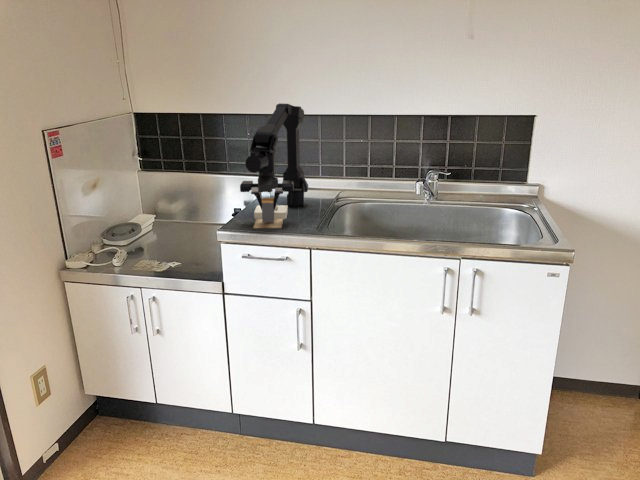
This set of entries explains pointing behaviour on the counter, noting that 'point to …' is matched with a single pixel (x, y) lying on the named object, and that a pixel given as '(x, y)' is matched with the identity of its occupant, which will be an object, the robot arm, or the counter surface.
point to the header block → (279, 212)
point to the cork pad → (268, 224)
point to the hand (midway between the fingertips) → (268, 209)
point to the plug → (267, 210)
